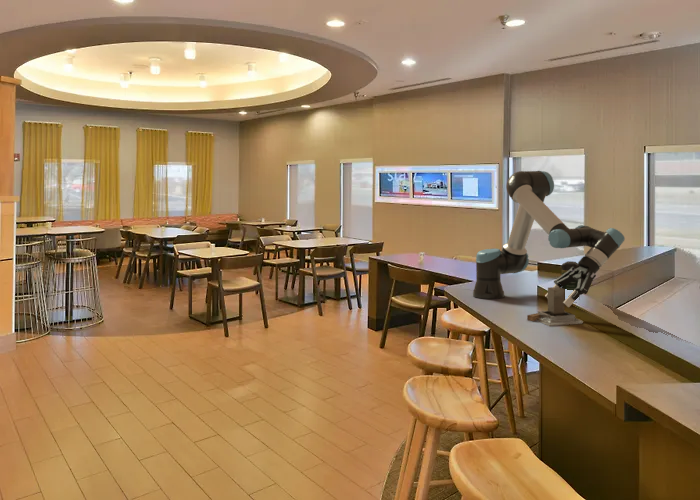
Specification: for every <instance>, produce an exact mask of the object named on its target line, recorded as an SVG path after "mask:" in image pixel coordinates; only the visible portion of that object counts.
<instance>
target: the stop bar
mask: <svg viewBox="0 0 700 500" xmlns="http://www.w3.org/2000/svg"><path fill="white" fill-rule="evenodd" d="M547 293H548V299H547V311H548V315H551V316H560V315H564V311H565V309H566V308H565V307H566V305H565V304H564V303H563V302H564V301H565V289H563V288H560V287H553V286H552V287H551V286H550V287H547Z"/></svg>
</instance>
